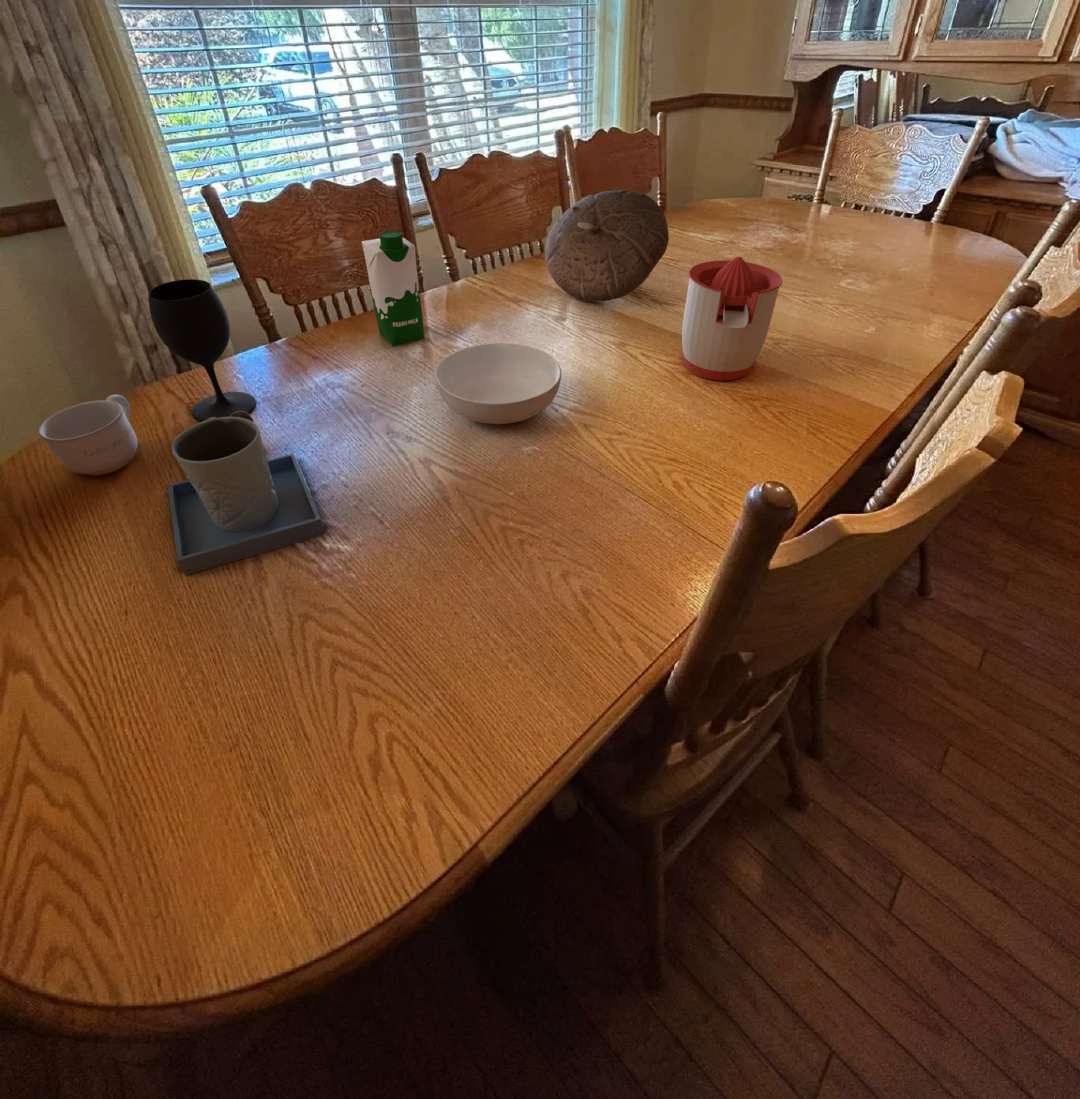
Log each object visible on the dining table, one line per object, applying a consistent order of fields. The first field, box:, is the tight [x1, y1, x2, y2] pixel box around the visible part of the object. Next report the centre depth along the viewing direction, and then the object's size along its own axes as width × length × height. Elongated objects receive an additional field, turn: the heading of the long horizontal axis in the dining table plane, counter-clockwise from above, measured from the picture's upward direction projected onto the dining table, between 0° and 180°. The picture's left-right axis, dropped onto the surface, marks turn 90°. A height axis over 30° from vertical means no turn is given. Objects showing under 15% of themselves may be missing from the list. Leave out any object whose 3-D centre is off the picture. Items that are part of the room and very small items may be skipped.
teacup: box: [38, 394, 138, 476], centre depth 94 cm, size 14×11×8 cm
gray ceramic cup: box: [171, 417, 279, 532], centre depth 82 cm, size 10×10×12 cm
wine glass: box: [147, 278, 257, 423], centre depth 101 cm, size 10×10×20 cm
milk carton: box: [361, 230, 426, 348], centre depth 122 cm, size 9×9×20 cm
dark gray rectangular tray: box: [167, 452, 326, 576], centre depth 85 cm, size 17×17×3 cm
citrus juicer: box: [681, 256, 783, 381], centre depth 112 cm, size 16×17×20 cm
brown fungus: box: [544, 189, 670, 303], centre depth 142 cm, size 28×23×25 cm
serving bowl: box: [434, 342, 562, 425], centre depth 106 cm, size 21×21×7 cm
